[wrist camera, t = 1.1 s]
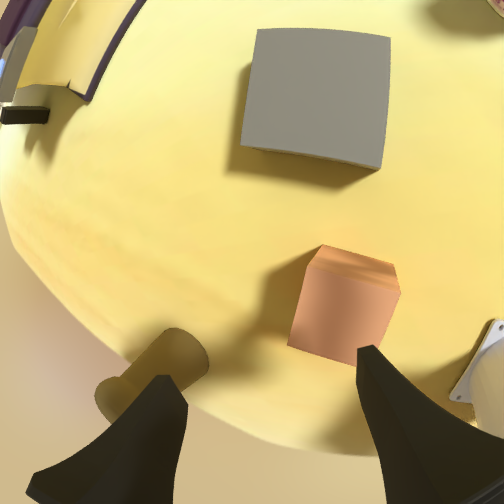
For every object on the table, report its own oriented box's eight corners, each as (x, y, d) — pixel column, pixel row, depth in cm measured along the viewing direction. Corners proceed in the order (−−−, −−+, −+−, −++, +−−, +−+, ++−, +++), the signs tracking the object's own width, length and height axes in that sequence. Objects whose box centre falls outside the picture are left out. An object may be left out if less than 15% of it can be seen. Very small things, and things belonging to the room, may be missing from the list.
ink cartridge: (38, 119, 30) (-2, 120, 23) (41, 106, 29) (1, 106, 22) (47, 124, 29) (2, 125, 22) (50, 110, 28) (6, 109, 21)
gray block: (388, 60, 13) (390, 37, 10) (378, 170, 16) (380, 168, 12) (275, 50, 16) (257, 29, 13) (261, 150, 18) (239, 145, 15)
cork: (179, 378, 28) (113, 437, 18) (152, 332, 27) (75, 384, 18) (219, 375, 25) (149, 450, 15) (190, 322, 25) (102, 388, 15)
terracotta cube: (393, 263, 16) (400, 292, 12) (370, 327, 18) (367, 369, 14) (323, 244, 18) (306, 266, 14) (306, 308, 20) (286, 345, 15)
